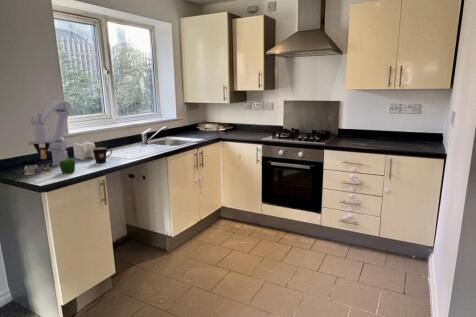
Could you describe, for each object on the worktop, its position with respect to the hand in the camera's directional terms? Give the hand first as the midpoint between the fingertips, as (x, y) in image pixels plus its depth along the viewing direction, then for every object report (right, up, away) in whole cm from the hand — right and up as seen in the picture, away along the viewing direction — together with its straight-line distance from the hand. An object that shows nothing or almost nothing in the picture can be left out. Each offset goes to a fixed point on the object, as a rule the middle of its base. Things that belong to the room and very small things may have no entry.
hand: (43, 155), depth 204 cm
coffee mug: (+29, -5, +22) cm, 37 cm away
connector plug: (0, -2, 0) cm, 2 cm away
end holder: (-5, -10, -4) cm, 12 cm away
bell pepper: (+20, -11, -6) cm, 23 cm away
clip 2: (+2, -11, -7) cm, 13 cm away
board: (-1, -10, -3) cm, 11 cm away
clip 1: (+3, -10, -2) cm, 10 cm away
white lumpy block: (+10, -2, +34) cm, 36 cm away
